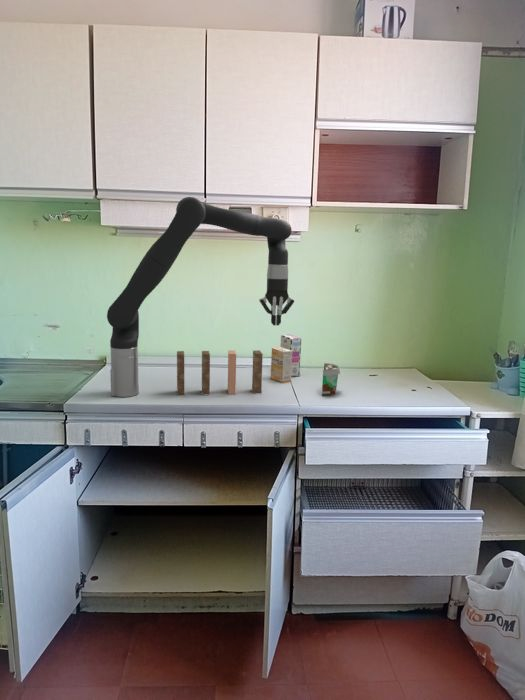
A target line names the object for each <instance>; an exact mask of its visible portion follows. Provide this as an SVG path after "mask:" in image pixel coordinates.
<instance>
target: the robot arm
mask: <svg viewBox="0 0 525 700" xmlns="http://www.w3.org/2000/svg"><path fill="white" fill-rule="evenodd" d="M175 212H176V213H175V215H174V216H173V218H172V220H171V222H170V224H169V225H168V227H167V229H165V231H164V232H163V233H162V234H161V236H160V237H159V238H157V240H156V241H155V242H154V243H153V244H152V245H151V246H150V248H149V249H148V250H147V252H146V253H145V254H144V256H143V257H142V259H141V260H140V262H139V264H138V265H137V267H136V269H135V270H134V272H133V274H132V276H131V277H130V279H129V281H128V283H127V285H126V286H125V288H124V289H123V290H122V292H121V293H120V294H119V295H118V297H116V299H114V301H113V302H112V303H111V305H110V306H109V308H108V309H107V313H106V319H107V322H108V324H109V325H110V327H112V332H111V337H110V339H109V341H110V342H109V343H110V344H109V346H110V348H109V349H110V370H109V373H110V396H111V397H118V398H129V397H134V396H137V395H138V394H139V392H140V391H139V384H140V383H139V349H138V348H139V346H138V345H139V343H138V342H139V336H140V318H139V317H140V316H139V315H140V314H139V309H140V307H141V306H142V304H143V302H144V301H145V299H146V298H147V297H148V296H150V294H151V293H152V292H153V291H154V290H155V289H156V288H157V286H159V284H161V282H162V281H163V279H164V278H165V277H166V275H167V274H168V273H169V271H170V269H171V268H172V266H173V264H175V261H176V259H178V256H179V255H180V253H181V251H182V249H183V248H184V246H185V244H186V242H187V241H188V240H189V238H190V237H191V236H192V235H193V234H194V233H195V231H196V230H197V229H198V228H199V226H200V225H210V226H215V227H219V228H223V229H227V230H229V231H234V232H236V233H240V234H244V235H249V236H254V237H255V236H256V237H266V238H267V239H266V241H267V248H268V259H267V262H268V263H267V270H266V273H267V274H266V292H265V295H264V296H263V297H262V298H259V303H260V304H261V306H262V307H263V309H264V311H265V312H266V313H267V314H269V315H271V316H270V322H271V324H272V325H273V326H280V325H281V323H282V315H284V314H285V315H286V314H287V313H288V311H289V310H290V308H291V307H292V306H293V305H294V303H295V300H294V299H292V298H291V297H289V293H288V291H289V290H288V289H289V286H288V285H289V284H288V283H289V251H288V249H287V248H286V247H287V246H286V240H287V239H289V237H291V234H292V227H291V224H290V222H288V221H287V220H285V219H281V218H274V217H266V216H262V215H259V214H253V213H249V212H244V211H239V210H233V209H227V208H222V207H218V206H215V205H211V204H209V203H206V202H203V201H202V200H199V199H198V198H196V197H193V196H186V197H184V198H182V199H180V201H179V202H178V203H177V205H176V209H175ZM267 302H268V304H270V308H269V306H268V305H267ZM285 303H286V304H285ZM284 304H285V306H284V307H283V305H284ZM276 309H277V310H276Z"/></svg>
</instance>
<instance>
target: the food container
mask: <svg viewBox="0 0 525 700" xmlns="http://www.w3.org/2000/svg"><path fill="white" fill-rule="evenodd" d="M340 374H341V370H340V367H339V366H338V365H337V364H334V363H326V362H324V364H323V369H322V385H321V388H322V389H321V396H322V397H325V396H333V395H336V393H337V387H338V386H337V385H338V377H339V375H340Z"/></svg>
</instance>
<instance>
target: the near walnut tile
mask: <svg viewBox="0 0 525 700" xmlns="http://www.w3.org/2000/svg"><path fill="white" fill-rule="evenodd" d="M176 394H177V395H184V396H185V351H184V350H178V351H176ZM177 395H176V396H177Z"/></svg>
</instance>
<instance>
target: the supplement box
mask: <svg viewBox="0 0 525 700" xmlns="http://www.w3.org/2000/svg"><path fill="white" fill-rule="evenodd" d="M292 352H293V351H292V350H288V349H285V348H282V347H281V346H277V347H271V361H270V362H271V363H270V379H271V380H274V381H277V382H279V383H282V384H286V383H292V377H291V372H292Z"/></svg>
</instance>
